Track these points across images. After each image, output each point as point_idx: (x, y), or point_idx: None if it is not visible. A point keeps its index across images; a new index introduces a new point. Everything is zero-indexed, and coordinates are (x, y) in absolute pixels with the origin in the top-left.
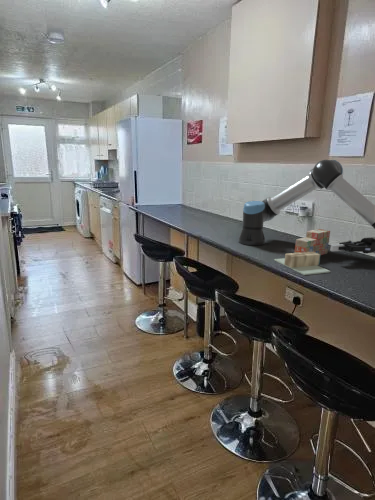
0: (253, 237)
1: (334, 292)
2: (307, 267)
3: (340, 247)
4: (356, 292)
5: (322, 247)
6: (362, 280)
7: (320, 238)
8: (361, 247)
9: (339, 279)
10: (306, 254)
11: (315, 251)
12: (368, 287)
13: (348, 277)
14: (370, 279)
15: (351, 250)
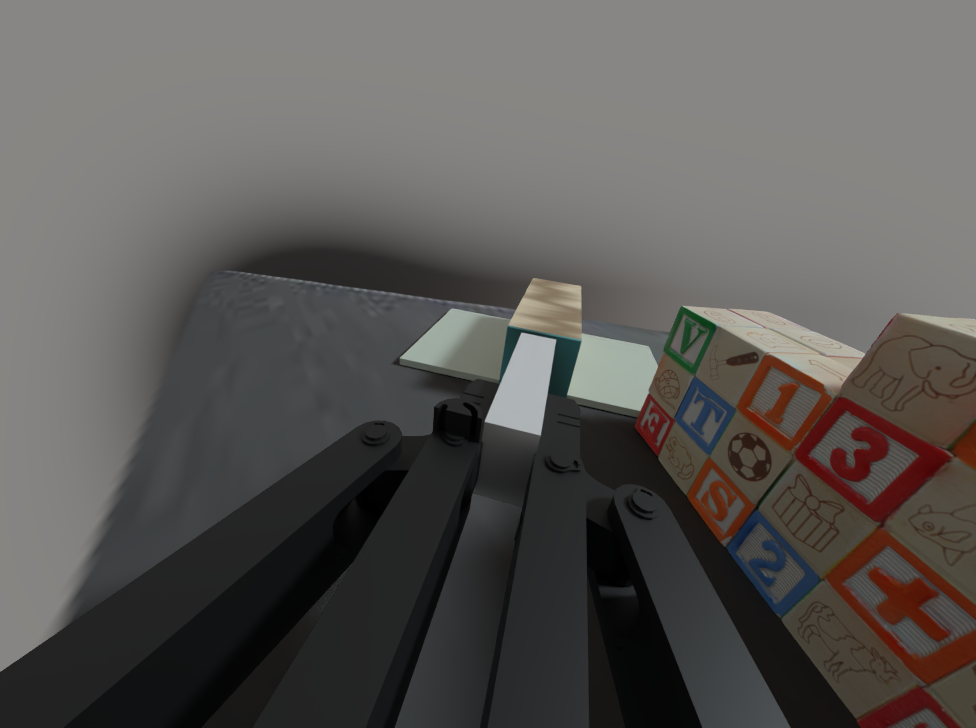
0: None
1: (315, 282)
2: (496, 343)
3: (476, 381)
4: (249, 296)
5: (959, 678)
6: (217, 364)
7: (963, 460)
8: (83, 638)
9: (330, 333)
10: (538, 303)
11: (752, 506)
12: (194, 327)
13: (297, 360)
14: (156, 394)
15: (356, 507)
